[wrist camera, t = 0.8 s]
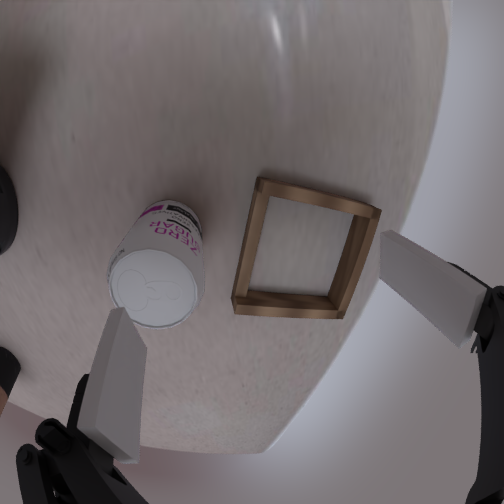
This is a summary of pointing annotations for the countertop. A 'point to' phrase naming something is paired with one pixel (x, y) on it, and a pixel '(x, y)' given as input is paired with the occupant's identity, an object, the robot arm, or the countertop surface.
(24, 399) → the countertop surface
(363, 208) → the dock bay
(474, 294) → the robot arm
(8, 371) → the travel mug
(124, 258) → the supplement can
